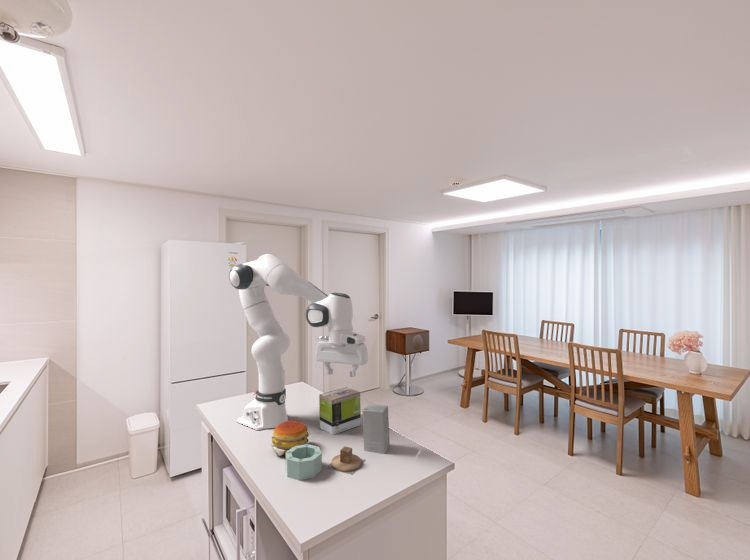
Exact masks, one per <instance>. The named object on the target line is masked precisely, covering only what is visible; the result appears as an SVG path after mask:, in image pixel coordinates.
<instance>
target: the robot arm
mask: <svg viewBox="0 0 750 560" xmlns="http://www.w3.org/2000/svg"><path fill="white" fill-rule="evenodd" d="M228 279H229V283H230V285H231V286H232V287H233V288H235V289H236V290H238V297H239V301H240V304H241V307H242V310H243V311H244V315H245V318H246V320H247V323H248V325H249V326H250V328H251V329H253V331H254V332H255V333H256V334H257V335H258V339H257V340H255V342H254V343H253V344H252V345H251V351H250V352H251V355H252V357H253V359H254V360H255V363H256V366H257V373H258V389H257V390H256V391H254V392H253V396H254V395H255V397H254V399H253V400H250V402H249V403H248V404H247V405H245V406H244V408H243V412H242V415H241V416H239V417H237V419H236V423H237V422H238V424H240V425H242V424H243V426H246V427H247V426H248V428H250V429H252V428H253V430H256V431H260V430H265V429H275V428H276V427H277V426H278V425H279V424H281V423H283V422H286V421H289V418H288V417H289V416H288V413H287V407H286V399H287V397H286V396H287V395H286V394H287V393H286V384H285V383H286V382H285V381H286V380H285V379H286V373H285V372H286V371H285V369H284V366H283V363H282V355H284V354H285V353H286V352H287V351H288V349H289V347H290V345H291V339H290V336H289V335H288V334H287V333H286V332H285V331H284V330H283V327H282V326H281V325H280V323H279V322H278V320H277V317H275V314H274V312H273V310H272V307H271V305H270V303H269V300H268V298H267V296H266V293H265V287H266V286H267V287H270V288H271V289H272V290H273V291H275V292H277V293H279V294H281V295H284V296H285V295H286V296H293V297H300V298H303V299H306V300H307V301H309V302H310V304H309V305H308V306H307V308H306V310H305V320H306V322H307V323H308V324H309V325H310V326H311V327H313V328H318V329H319V328H325V327H328V336H323V335H321V336H319V337H317V338H316V348H315V360H316V361H317V362H320V363H321V362H324V363H323V365H324V367H325V369H326V370H327V371H326V372H327V373H326V374H327V375H333V374H334V368H332V367H331V365H330V364H331V363H334V364H343V365H344V364H345V365H351V366H352V368H353V369H352V370H351V371H349V377H351V378H352V377H353V378H354V377H356V373H357V370H358V368H359V366H365V365H366V364H367V363H368V360H369V356H368V353H369V352H368V348H367V345H366V336H365V335H362V334H360V333H357V332H355V331H354V330H353V329H354V327H353V324H352V320H353V317H354V316H353V315H354V314H353V303H352V302H353V300H352V299H351V297H350V295H348V294H347V293H343V292H331V293H330V294H327V293H326V292H324V291H322V290H321V289H319V288H318V286H316V285H314V283H312V282H310V281H308V280H307V279H306V278H304V277H303V276H302V275H300V274H299V273H298V272H296V271H295V270H294V269H293V268H291V266H289V265H288V264H287V263H285V262H284V261H283V260H282V259H280V258H279V257H277V256H276V255H274V254H270V253H266V254H261V256H260V255H259V257H258V259H256V260H251V261H248V262H247V261H246V262H244V263H239V264H237V265H234V266H233V267H231V268H230V270H229V273H228Z"/></svg>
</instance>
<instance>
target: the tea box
mask: <svg viewBox="0 0 750 560" xmlns="http://www.w3.org/2000/svg"><path fill="white" fill-rule="evenodd" d="M318 399H319V400H318V401H319V404H318V405H319V407H318V408H319V428H320V429H321V430H322V431H325V432H327V433H329V434H330V435H332V436H333V435H336V434H340V433H343V432H345V431H348V430H350V429H353V428H357V427H361V426H362V423H361V421H362V420H361V419H362V418H361V414H362V413H361V392H360V391H358V390H356V389H354V388H353V389H352V388H349V387H347V386H345V387H343V388H339V389H335V390H331V391H328V392H323V393H320V394H319V397H318Z"/></svg>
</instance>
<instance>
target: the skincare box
mask: <svg viewBox="0 0 750 560" xmlns="http://www.w3.org/2000/svg"><path fill="white" fill-rule="evenodd" d="M389 419H390V418H389V406H388V405H379V404H372V403H371V404H370V403H368V404H367V405H366V406H365V408H363V409H362V428H363V429H362V430H363V447H364V448H363V451H365V452H371V453H377V454H382V455H385V454H386V453H387V451H388V449H389V448H390V446H391V445H390V425H389V423H390V422H389Z"/></svg>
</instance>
